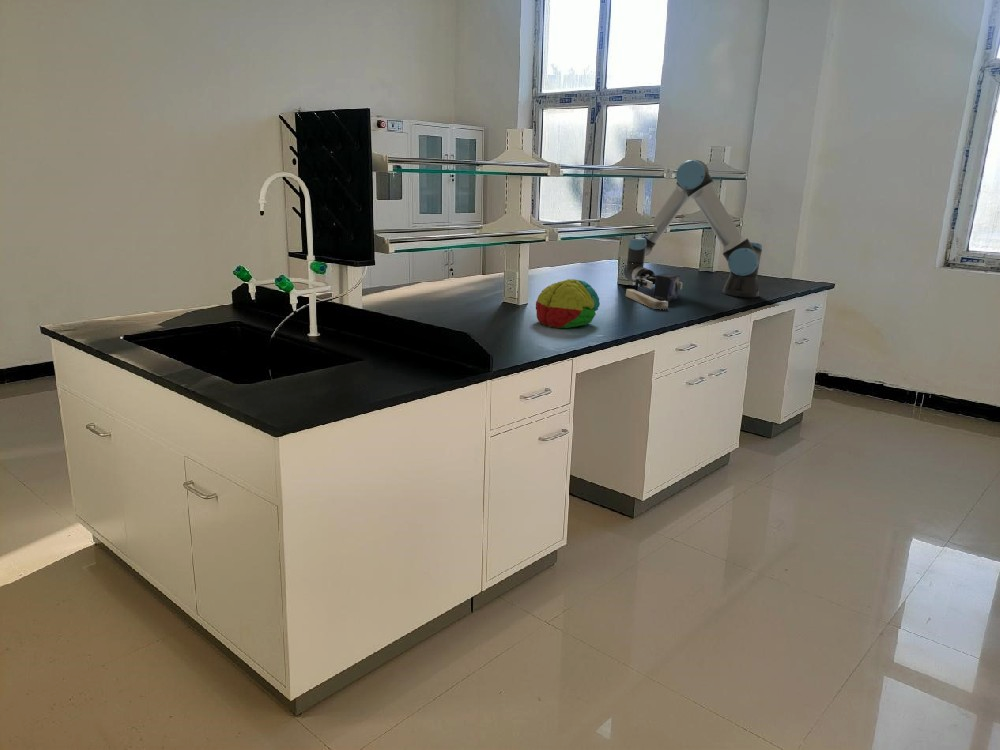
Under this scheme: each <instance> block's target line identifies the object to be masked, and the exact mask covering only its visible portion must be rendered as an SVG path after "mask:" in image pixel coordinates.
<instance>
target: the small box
mask: <svg viewBox="0 0 1000 750" xmlns="http://www.w3.org/2000/svg"><path fill="white" fill-rule="evenodd" d="M655 275H656V282H655V284H654V290H653V294H652V295H653V297H652V298H654V299H657V300H659V301H667V302H668V303H669V302H673V301H676V300H675V299H677V300H678V293H679V289H678V287H679V280H680V281H681V275H680V274H675V273H671V272H670V273H669V272H665V273H660V274H655ZM672 300H673V301H672Z"/></svg>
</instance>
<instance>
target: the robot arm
mask: <svg viewBox="0 0 1000 750" xmlns="http://www.w3.org/2000/svg"><path fill="white" fill-rule="evenodd" d="M709 172H710V171H709V168H708V166H707V164H706V163H705V162H703V161H702V160H698V159H691V158H690V159H689V160H688V159H687V160H686V161H684V162H682V163H681V164H680V165H679V167H678V168H677V170H676V173H675V174H676V175H675V179H676V183H675V189H674V190H673V191H672V192H671V194H670V195H669V196H668V197H667V199H666V201H665V202H664V203H663V204H662V206H661V207H660V209H659V211H658V212H657V213H656V214H655V216H654V218H653V219H652V220H651V222H650V223H649V224H652V225H654V226H656V227H657V230H658V231H656V232H657V233H653V234H649V235H648V236H644V237H642V238H636V239H631V240H630V239H629V241H630V242H628V245H627V246H628V248H627V249H628V251H627V258H626V259H627V260H626V264H627V265H626V264H625V265H626V266H625V265H624V266H625V267H624V266H623V267H624V268H622V271H621V272H622V275H623V278H625V279H627V280H628V281H630V282H632V283H635V286H639V288H643V287H644V288H648V289H649V290H653V285H655V282H656V275H657V274H655V272H654V271H653V270H651V269H649V268H646V267H645V266H644V265H645V258H646V256H649V255H650V254H651V253H652V251H653V248H654V247H655V246H656V244H657V243H658V241H659V240H660V238H661V237H662V236H663V235H664V233H665V231H666V230H667V229H668V228H669V226H670V225H671V223H672V222H673V221H674V219H675V218H676V217H677V216H678V214H679V213H680V211H681V210H682V209H683V207H684V206H685V205H686V204H687V202H688V201H689V199H692V200H694V201H695V203H696V205H697V206H698V208H699V209H700V211H701V213H702V214H703V216H704V218H705V219H706V222H707V223H708V226H710V228H711V230H712V231H713V233H714V235H715V236H716V238H717V240H718V241H719V242H720V244H721V246H722V250H721V251H722V252H721V254H722V255H723V257H724V258H725V260H726V262H727V267H728V268H729V276H728V278H727V279H726V282H725V284H724V286H723V289H722V293H723V294H725V295H728V296H733V297H738V296H739V297H738V298H757V297H759V293H760V290H759V284H758V275H759V269H760V262H761V256H762V251H763V245H762V244H761V243H759V242H751V241H750V240H749V238H748V237H745V236H742V234H741V232H740V231H739V229H738V227H737V225H736V224H735V223H734V221H733V219H732V217H731V216H730V214H729V213H728V211H727V209H726V208H725V206H724V204H723V203H722V201H721V199H720V198H719V196H718V194H717V193H716V191H715V189H714V188H713V187H714V180H713V178H712V177H711V175H710V174H709ZM632 263H633V264H632ZM683 285H684V284H683V282H682V281H681V279H680V280H679V287H678V290H683Z"/></svg>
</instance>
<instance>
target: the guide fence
mask: <svg viewBox="0 0 1000 750" xmlns="http://www.w3.org/2000/svg"><path fill="white" fill-rule="evenodd" d="M625 297H626V298H629V299H631V300H633V301H634V302H637V303H640V304H642V305H643V304H644V306H645V305H646V307H647V306H648V307H647V308H649V309H652V310H654V309H660V310H659V311H662V310H661V309H663V310H664V309H665V310H664V311H667V310H668V308H669V302H667V301H659V300H657V299H654V298H653V297H651V296H650V295H648V294H645V293H643V292H641V291H639V290H636V289H633V288H626V292H625ZM666 309H667V310H666Z"/></svg>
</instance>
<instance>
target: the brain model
mask: <svg viewBox="0 0 1000 750" xmlns="http://www.w3.org/2000/svg"><path fill="white" fill-rule="evenodd" d="M600 304H601V303H600V297H599V295H598V293H597V291H596V290H595V289H594V288H593V287H592V285H590V284H589V283H588V282H586V281H585V280H579V279H574V278H573V279H572V278H571V279H570V278H569V279H568V278H567V279H566V280H560V281H558V282H555V283H552V284H550V285H548V286H546V287H545V288H543V289H542V291H541V292H540V293H539V295H538V297H537V299H536V302H535V311H536V318H537V321H538V322H539V323H540V324H541V325H542V326H544V327H549V328H552V327H553V328H554V329H568V328H569V329H570V328H576V327H579V326H580V327H581V326H583V327H584V326H586V325H588V324H590V323H592V321H593V320H594V318H595V316H596V312H597V311H598V310H599V307H600Z"/></svg>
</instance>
